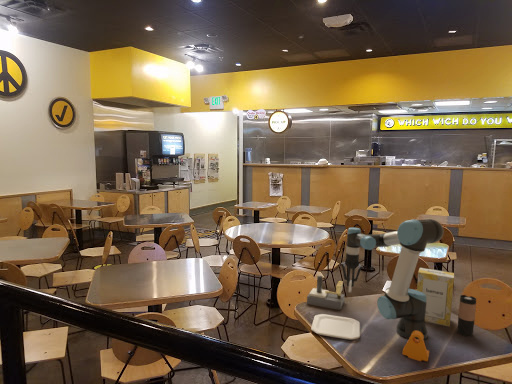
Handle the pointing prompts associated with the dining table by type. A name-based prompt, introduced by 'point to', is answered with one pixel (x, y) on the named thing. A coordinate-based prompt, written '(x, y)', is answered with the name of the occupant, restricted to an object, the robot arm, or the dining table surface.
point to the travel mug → (466, 315)
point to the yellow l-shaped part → (337, 289)
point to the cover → (318, 289)
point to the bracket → (416, 347)
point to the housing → (327, 301)
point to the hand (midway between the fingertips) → (349, 291)
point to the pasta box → (436, 294)
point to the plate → (336, 326)
